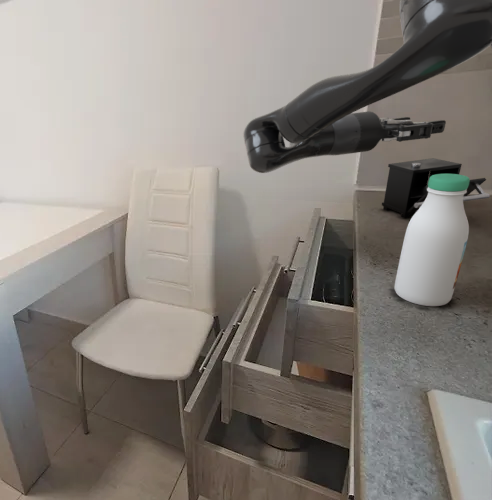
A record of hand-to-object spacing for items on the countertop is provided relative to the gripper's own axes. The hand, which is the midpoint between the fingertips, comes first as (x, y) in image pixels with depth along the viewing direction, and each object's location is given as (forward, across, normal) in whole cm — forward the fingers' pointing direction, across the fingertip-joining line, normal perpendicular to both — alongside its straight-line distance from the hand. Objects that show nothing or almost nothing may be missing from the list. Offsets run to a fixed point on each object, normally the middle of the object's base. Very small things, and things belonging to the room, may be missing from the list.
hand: (424, 124), depth 72 cm
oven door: (+10, +6, +23) cm, 26 cm away
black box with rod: (+13, +12, +24) cm, 30 cm away
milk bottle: (-14, -22, +24) cm, 36 cm away
